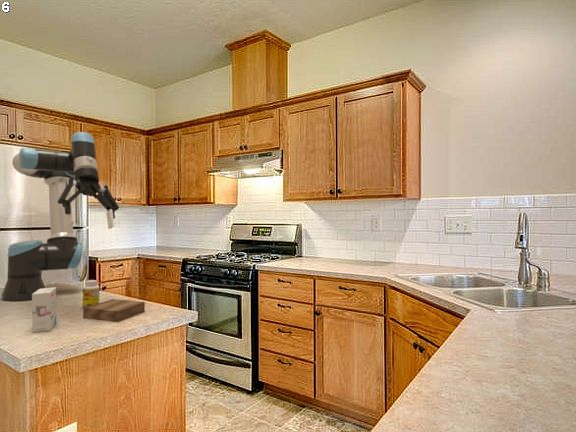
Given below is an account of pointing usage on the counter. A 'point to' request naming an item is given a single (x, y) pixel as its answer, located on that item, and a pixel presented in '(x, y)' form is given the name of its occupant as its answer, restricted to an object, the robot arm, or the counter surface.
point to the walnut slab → (113, 310)
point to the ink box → (43, 309)
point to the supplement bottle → (90, 293)
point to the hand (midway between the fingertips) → (92, 225)
